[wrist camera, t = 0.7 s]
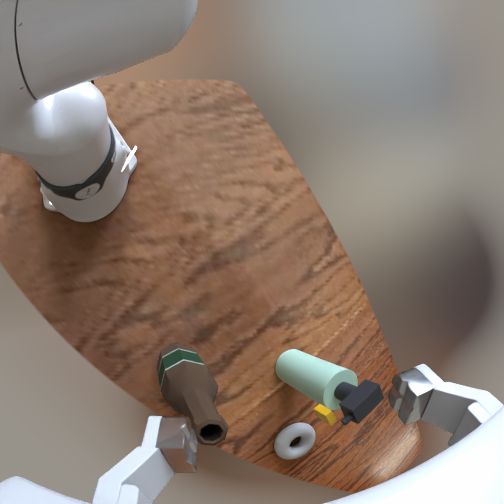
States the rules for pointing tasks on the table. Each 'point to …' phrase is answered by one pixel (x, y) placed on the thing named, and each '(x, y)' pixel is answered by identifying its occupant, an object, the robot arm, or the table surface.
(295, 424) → the donut
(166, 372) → the beer bottle
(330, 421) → the block
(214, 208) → the table surface
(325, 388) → the spray bottle
